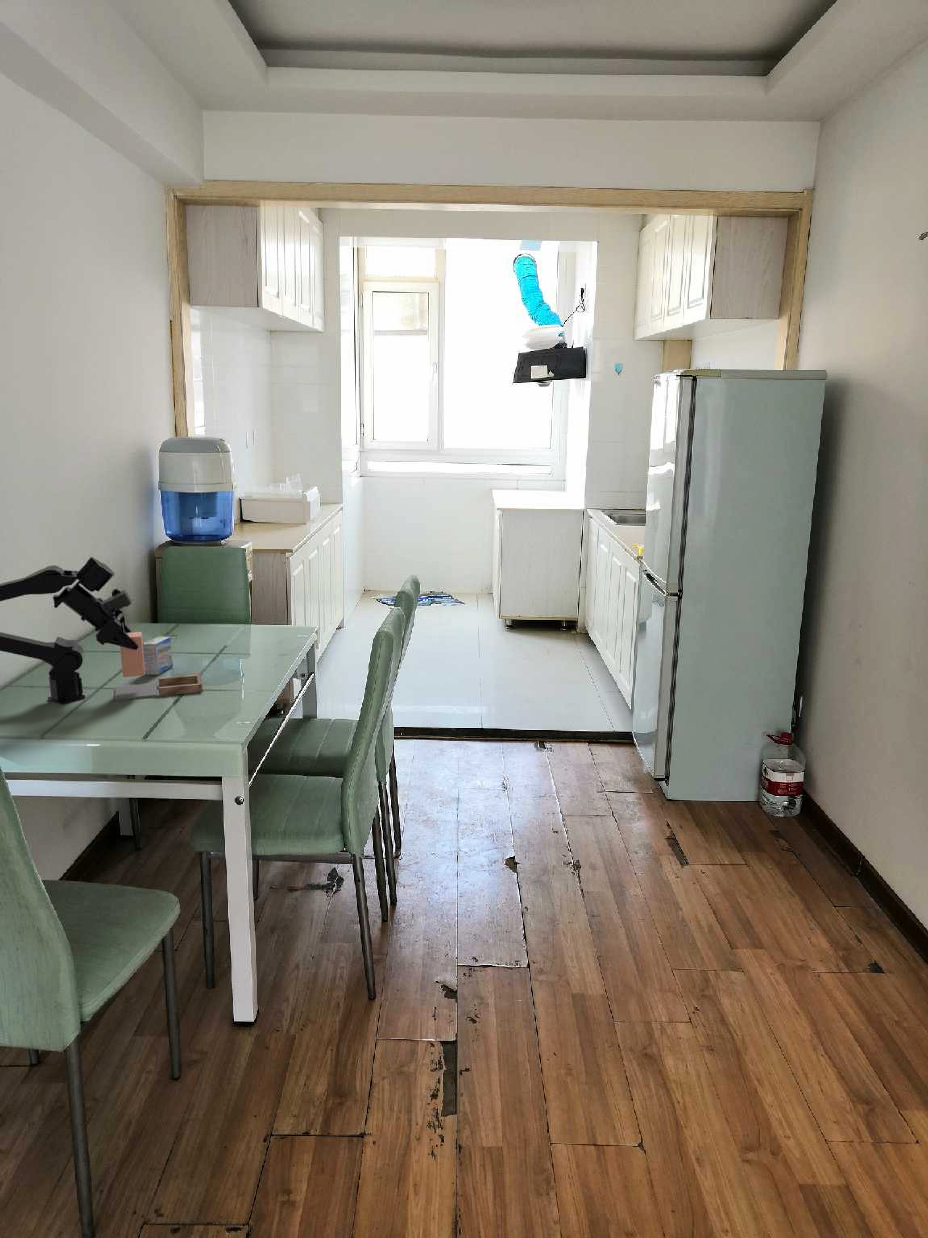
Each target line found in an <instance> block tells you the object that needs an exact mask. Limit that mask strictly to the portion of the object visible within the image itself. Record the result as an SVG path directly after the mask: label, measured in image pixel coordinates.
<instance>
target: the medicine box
mask: <svg viewBox="0 0 928 1238" xmlns="http://www.w3.org/2000/svg"><path fill="white" fill-rule="evenodd" d="M171 639H172V638H171V637H170V636H155V637H154V638H151V639H150V640H148V641H145V642H144V643H143V654H144V667H145V673H144V675H149V676H150V675H152V676H160V675H162V674H164V673H165V672H167V671H169V670H170V669H172V668H173V667H174V663H173V662H174V661H173V652H172V651H173V650H172V649H173V648H172V641H171ZM168 669H169V670H168Z"/></svg>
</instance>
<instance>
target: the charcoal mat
mask: <svg viewBox="0 0 928 1238" xmlns="http://www.w3.org/2000/svg"><path fill="white" fill-rule="evenodd" d="M157 697H158V683H157V682H154V683H143V684H142V683H141V684H132V685H131V684H130V685H121V686H119V685H118V686H115V689H114V695H113V701H115V702H116V701H125V700H135V699H136V700H138V699H148V698H157ZM137 698H138V699H137Z"/></svg>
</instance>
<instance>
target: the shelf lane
mask: <svg viewBox="0 0 928 1238" xmlns="http://www.w3.org/2000/svg"><path fill="white" fill-rule="evenodd" d="M157 691H158V697H161V696H171V695H173V694H175V695H182V694H192V693H193V694H194V693H204V691H203V679H202V674H201V673H200V674H188V675H177V676H164V677H158V686H157ZM173 696H174V695H173Z"/></svg>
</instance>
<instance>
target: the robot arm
mask: <svg viewBox="0 0 928 1238" xmlns="http://www.w3.org/2000/svg"><path fill="white" fill-rule="evenodd" d="M114 576H115V572H114V571H113V570H112V569H111V568H110V566H108V565H107V564H106V563H104V562H102V561H100V560H98V559H97V558H95V557H93V556H90V557H89V558H88V559H87V561H86V563H84V565H83V566H82V567H81V568H80V569H79V570H71V569H70V570H68V569H67V570H66V569H63V568H62V567H60V566H58V565H53V564H52V565H49V566H46V567H43V568H41V569H39V570H36V571H35V572H32V573H30V574H28V575H27V576H25V577H22V578H18V579H14V580H10V581H6V582H5V581H4V582H1V583H0V602H3V601H7V600H13V599H15V598H19V597H23V596H26V595H27V596H28V595H29V596H30V595H46V594H47V595H48V594H49V595H51V594H53V596H52V600H53V607H54V609H57V608H58V607H59V606H60V605H61V604H64V605H65V606H66V607H68V608H69V609H70V610H72V611H73V612H74V613H76V615H78V616H80V620H81V621H82V622H85V621H86V622H87V623H89V625H91V626H92V627H93V628H94V631H95V632H96V634H95V639H96V641H97V642H98V643H99V644H100V645H102V646H104V645H105V644H110V645H114V646H119V647H120V646H122V647H126V648H130V649H133V650H137V649H138V645H137V644H136V643H135V642H134V641H133V640H132V639H131V638H130V636H129V635H128V634H127V633H131V632H133V631H132V630H131V628H129V626H128V624H126V615H125V613H124V611H125V610H124V609H123V608H126V607H129V606H130V605H131V604H132V599H131V597H130V596H129V593H128V592H127V591H126V590H125V589H123V590H121V589H120V588H118V587H116V588H114V589H113V590H112V591H111V596H109V597H107V599H103V598H101V597H95V596H94V595H93V594H92V593H93V592H100V591H101V590H102V589H103V588H104V587H105V586H106V584H107V583H109V581H110V580H111V579H112V578H113V577H114ZM77 580H78V581H77ZM74 583H75V584H74ZM73 584H74V585H73ZM70 586H71V587H70ZM63 588H64V589H63ZM62 589H63V590H62ZM61 590H62V591H61ZM60 591H61V592H60ZM59 592H60V593H59ZM57 593H59V594H57ZM123 613H124V614H123ZM121 614H122V615H121ZM120 615H121V617H119V616H120ZM0 652H4V653H8V654H9V653H10V654H13V655H18V656H23V657H26V658H31V659H36V660H41V661H42V662H44V663H46V664H48V665H50V666H51V667H50V668H49V671H48V675H49V676H48V679H49V690H50V696H47V699H48V700H49V701H52V702H54V703H57V704H60V705H63V704H67V703H71V702H75V701H79V700H81V699H85V698H86V695H85V694H83V693H84V688H83V679H82V677H81V676H80V675H81V674H80V672H78V670H79V669H80V667H82V665H83V662H84V659H85V655H86V654H85V650H84V648H83V647H82V645H81V644H80V643H77V642H76V641H75V639H66V638H63V637H61V636H57V637H56V639H55V641H52V642H45V641H41V640H37V639H33V638H28V637H25V636H20V635H19V636H18V635H15V634H10V633H6V632H1V631H0ZM48 700H47V701H48Z"/></svg>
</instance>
